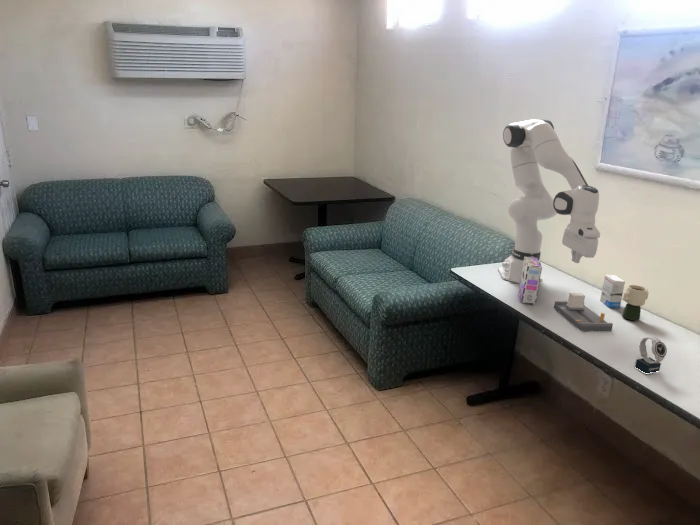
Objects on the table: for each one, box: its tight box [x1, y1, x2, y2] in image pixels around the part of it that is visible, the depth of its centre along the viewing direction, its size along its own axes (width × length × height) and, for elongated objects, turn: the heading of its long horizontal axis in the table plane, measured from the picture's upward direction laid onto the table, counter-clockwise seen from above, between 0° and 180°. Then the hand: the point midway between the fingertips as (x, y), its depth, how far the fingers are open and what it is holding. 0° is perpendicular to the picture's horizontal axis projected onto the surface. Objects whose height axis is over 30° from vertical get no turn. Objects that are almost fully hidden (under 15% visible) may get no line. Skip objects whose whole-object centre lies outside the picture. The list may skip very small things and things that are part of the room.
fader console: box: [553, 300, 614, 332], centre depth 212 cm, size 22×12×5 cm, turn 6°
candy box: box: [518, 257, 543, 306], centre depth 228 cm, size 14×6×16 cm, turn 168°
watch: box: [634, 336, 668, 373], centre depth 173 cm, size 6×8×11 cm
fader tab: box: [565, 292, 586, 310], centre depth 217 cm, size 4×6×6 cm, turn 96°
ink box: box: [599, 274, 626, 309], centre depth 228 cm, size 9×5×12 cm, turn 0°
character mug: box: [622, 284, 649, 322], centre depth 214 cm, size 11×7×13 cm, turn 104°
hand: (575, 262), depth 218 cm, fingers closed
